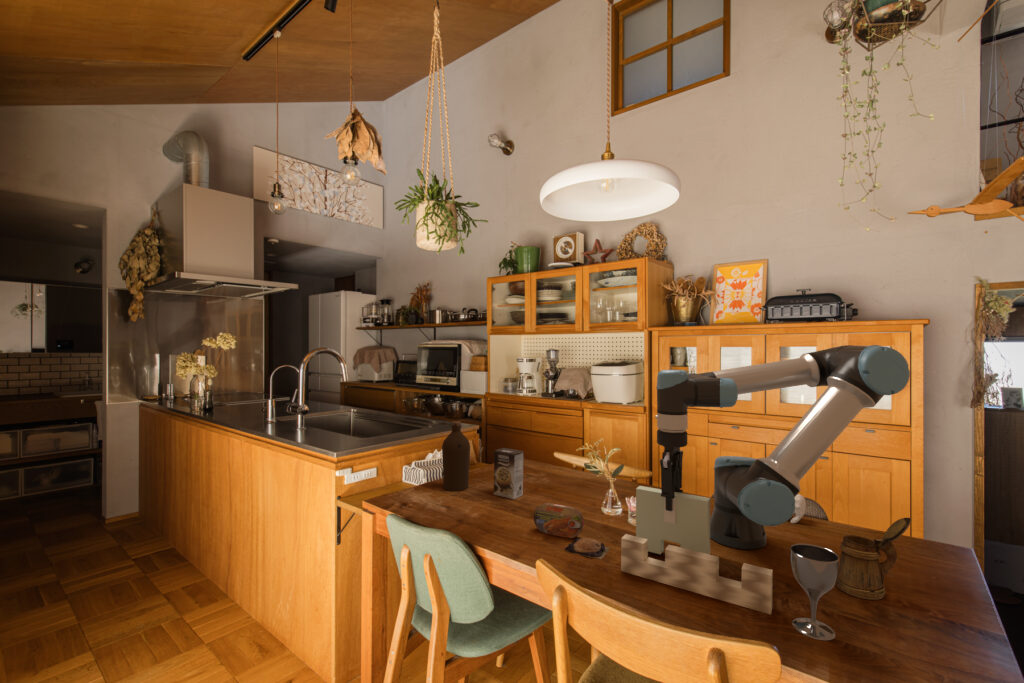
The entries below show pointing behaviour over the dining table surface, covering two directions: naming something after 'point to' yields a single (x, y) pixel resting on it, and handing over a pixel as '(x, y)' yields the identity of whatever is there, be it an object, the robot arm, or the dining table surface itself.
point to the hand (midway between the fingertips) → (671, 519)
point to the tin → (558, 520)
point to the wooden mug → (868, 562)
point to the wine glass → (814, 584)
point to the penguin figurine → (799, 508)
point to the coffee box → (508, 473)
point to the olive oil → (456, 459)
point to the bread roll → (587, 548)
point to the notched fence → (698, 574)
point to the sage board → (686, 530)
